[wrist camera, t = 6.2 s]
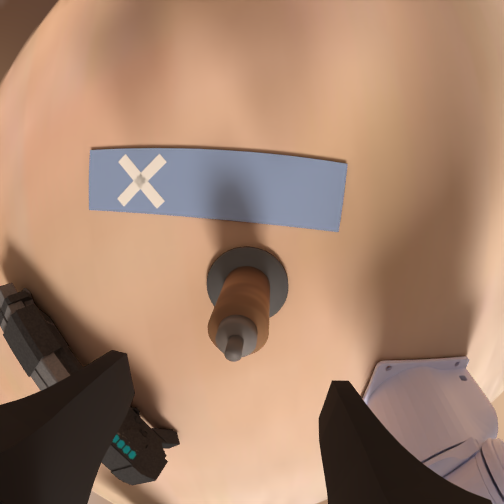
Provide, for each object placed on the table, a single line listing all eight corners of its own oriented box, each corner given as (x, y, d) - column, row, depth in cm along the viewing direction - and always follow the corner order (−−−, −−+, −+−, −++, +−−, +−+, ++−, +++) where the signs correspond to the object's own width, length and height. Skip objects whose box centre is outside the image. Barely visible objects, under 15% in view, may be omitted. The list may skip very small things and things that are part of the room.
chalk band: (346, 163, 16) (347, 163, 15) (337, 231, 17) (338, 232, 17) (91, 150, 16) (89, 150, 16) (90, 209, 17) (88, 210, 17)
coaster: (293, 251, 17) (293, 252, 17) (282, 324, 19) (282, 326, 19) (209, 242, 18) (208, 244, 17) (206, 315, 19) (205, 317, 19)
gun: (167, 449, 24) (110, 503, 15) (64, 295, 27) (-10, 309, 18) (194, 438, 23) (135, 502, 13) (80, 271, 26) (-1, 281, 17)
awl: (272, 268, 17) (271, 330, 11) (267, 310, 18) (263, 383, 12) (225, 263, 18) (199, 321, 11) (223, 305, 18) (199, 374, 12)
